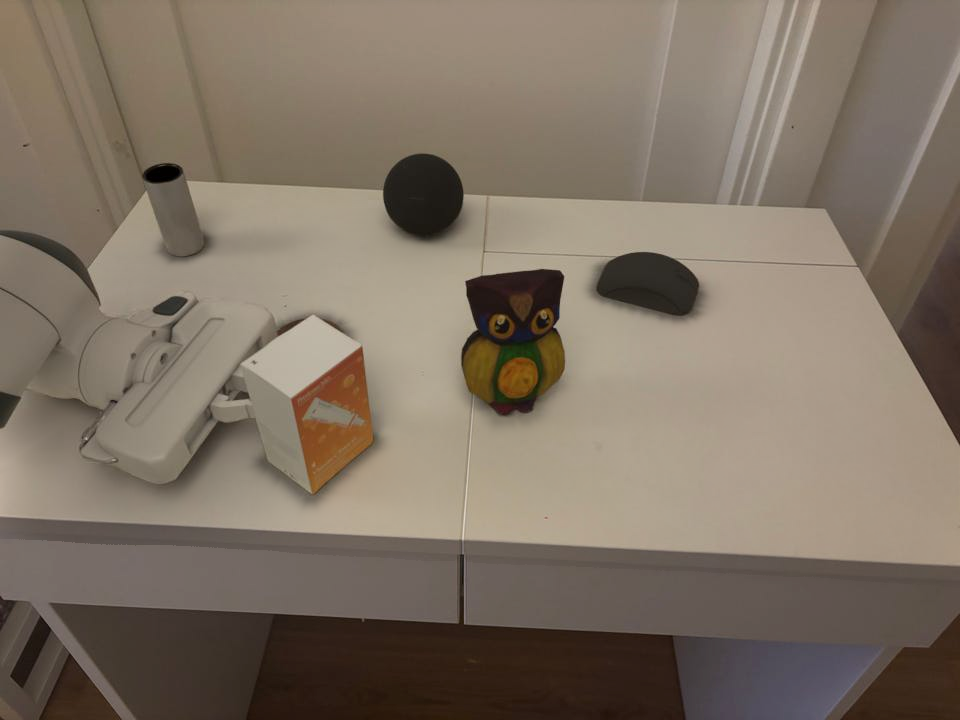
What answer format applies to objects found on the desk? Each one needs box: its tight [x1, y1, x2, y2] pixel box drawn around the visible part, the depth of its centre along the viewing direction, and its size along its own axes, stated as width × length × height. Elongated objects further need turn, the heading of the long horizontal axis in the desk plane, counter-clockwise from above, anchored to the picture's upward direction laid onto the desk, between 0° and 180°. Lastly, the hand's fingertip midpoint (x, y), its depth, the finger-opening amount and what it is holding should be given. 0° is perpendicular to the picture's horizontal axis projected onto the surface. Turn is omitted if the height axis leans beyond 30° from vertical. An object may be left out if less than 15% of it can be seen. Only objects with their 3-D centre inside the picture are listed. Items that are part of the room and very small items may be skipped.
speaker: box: [382, 152, 465, 237], centre depth 93 cm, size 10×10×10 cm
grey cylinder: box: [141, 162, 205, 257], centre depth 89 cm, size 4×4×10 cm
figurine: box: [460, 268, 566, 416], centre depth 70 cm, size 10×7×15 cm
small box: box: [240, 314, 374, 495], centre depth 66 cm, size 8×6×13 cm
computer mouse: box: [596, 251, 700, 316], centre depth 87 cm, size 6×11×4 cm, turn 68°
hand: (274, 403), depth 67 cm, fingers closed
